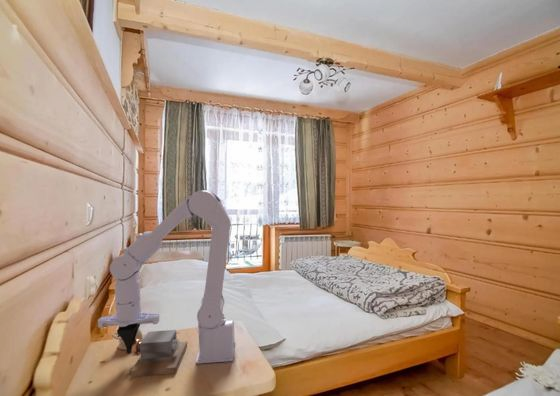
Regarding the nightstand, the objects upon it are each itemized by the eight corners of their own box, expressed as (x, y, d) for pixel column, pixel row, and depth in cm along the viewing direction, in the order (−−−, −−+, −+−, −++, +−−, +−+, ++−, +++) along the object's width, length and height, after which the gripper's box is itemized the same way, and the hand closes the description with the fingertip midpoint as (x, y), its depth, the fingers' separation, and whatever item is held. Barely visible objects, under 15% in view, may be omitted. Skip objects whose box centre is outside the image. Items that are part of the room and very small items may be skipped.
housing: (187, 346, 85) (186, 324, 84) (176, 373, 73) (174, 347, 72) (149, 349, 84) (147, 326, 84) (131, 376, 72) (129, 350, 72)
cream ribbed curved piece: (146, 344, 87) (145, 326, 86) (113, 355, 82) (112, 335, 81) (142, 338, 90) (141, 321, 90) (111, 348, 85) (110, 330, 85)
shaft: (180, 347, 81) (179, 333, 80) (176, 356, 77) (175, 340, 76) (138, 350, 80) (137, 336, 79) (131, 359, 76) (131, 344, 75)
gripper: (90, 308, 72) (93, 362, 73) (151, 304, 73) (154, 358, 74) (104, 297, 79) (107, 347, 80) (161, 294, 80) (163, 343, 81)
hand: (130, 351), depth 78 cm, fingers closed
